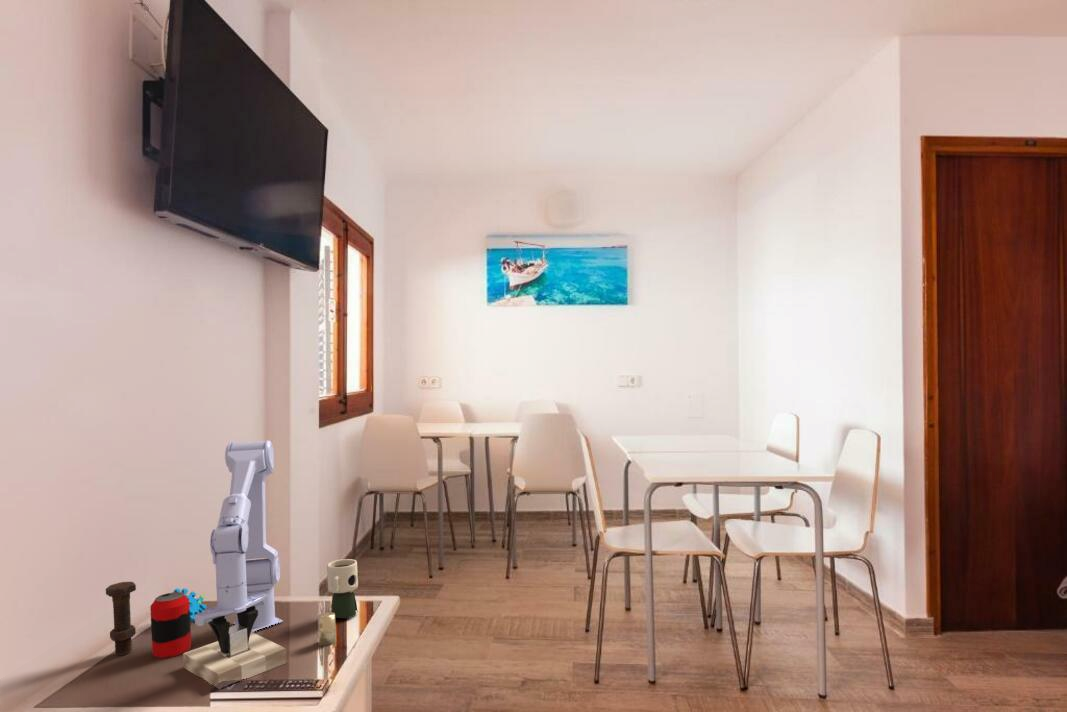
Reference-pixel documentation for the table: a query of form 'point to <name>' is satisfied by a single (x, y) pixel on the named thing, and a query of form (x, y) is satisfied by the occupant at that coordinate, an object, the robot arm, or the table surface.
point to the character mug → (343, 587)
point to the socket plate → (234, 660)
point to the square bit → (237, 641)
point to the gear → (193, 603)
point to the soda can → (170, 625)
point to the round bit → (327, 628)
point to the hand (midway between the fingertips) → (234, 648)
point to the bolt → (122, 616)
